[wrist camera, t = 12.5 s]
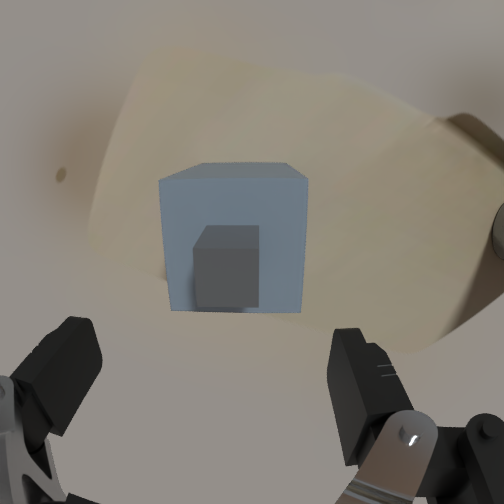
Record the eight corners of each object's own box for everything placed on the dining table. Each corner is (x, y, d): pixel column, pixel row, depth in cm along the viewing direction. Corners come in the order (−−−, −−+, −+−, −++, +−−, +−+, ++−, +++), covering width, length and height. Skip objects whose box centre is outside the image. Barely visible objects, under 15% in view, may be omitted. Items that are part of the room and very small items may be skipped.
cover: (285, 162, 30) (322, 189, 13) (284, 242, 33) (309, 350, 16) (202, 163, 30) (132, 191, 13) (205, 242, 33) (153, 346, 16)
